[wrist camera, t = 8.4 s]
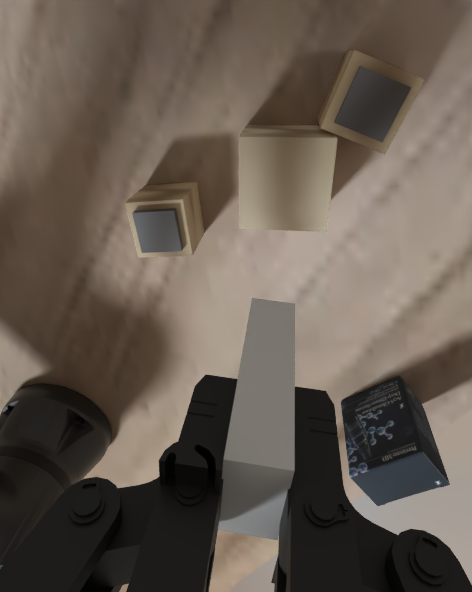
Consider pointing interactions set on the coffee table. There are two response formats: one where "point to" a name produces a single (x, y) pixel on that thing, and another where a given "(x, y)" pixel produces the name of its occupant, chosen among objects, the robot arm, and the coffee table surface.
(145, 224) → the marked oak block 2
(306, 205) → the plain oak block
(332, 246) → the coffee table surface
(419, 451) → the box
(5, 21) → the coffee table surface
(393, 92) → the marked oak block 1
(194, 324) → the coffee table surface
